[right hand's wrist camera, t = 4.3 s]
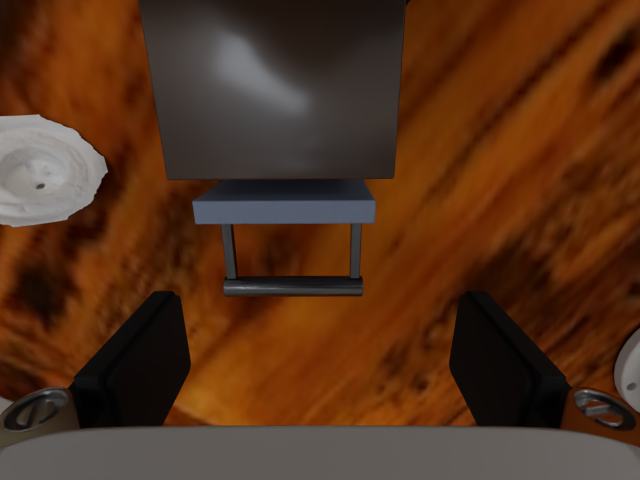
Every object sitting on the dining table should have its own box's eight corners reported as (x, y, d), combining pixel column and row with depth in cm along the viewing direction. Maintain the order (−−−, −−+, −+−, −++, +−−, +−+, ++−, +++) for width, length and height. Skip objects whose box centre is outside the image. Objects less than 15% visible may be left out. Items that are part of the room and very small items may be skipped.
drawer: (355, 262, 27) (369, 326, 19) (243, 262, 27) (209, 326, 19) (364, -16, 21) (391, -99, 13) (217, -14, 21) (150, -96, 13)
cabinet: (365, 153, 25) (394, 179, 15) (228, 154, 25) (166, 180, 15) (374, -84, 20) (424, -273, 10) (205, -81, 21) (94, -266, 11)
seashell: (74, 160, 29) (-67, 147, 23) (92, 118, 26) (-66, 90, 20) (98, 243, 27) (-50, 254, 21) (120, 208, 24) (-45, 209, 18)
